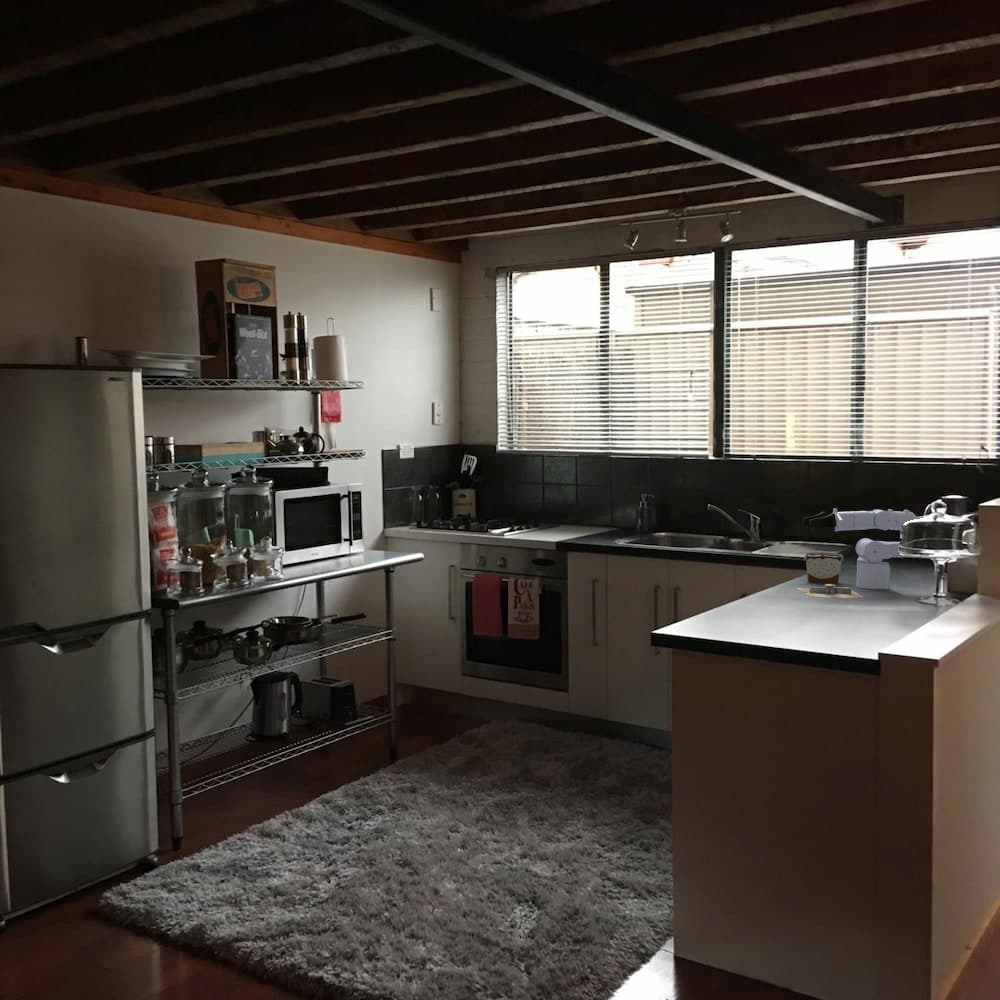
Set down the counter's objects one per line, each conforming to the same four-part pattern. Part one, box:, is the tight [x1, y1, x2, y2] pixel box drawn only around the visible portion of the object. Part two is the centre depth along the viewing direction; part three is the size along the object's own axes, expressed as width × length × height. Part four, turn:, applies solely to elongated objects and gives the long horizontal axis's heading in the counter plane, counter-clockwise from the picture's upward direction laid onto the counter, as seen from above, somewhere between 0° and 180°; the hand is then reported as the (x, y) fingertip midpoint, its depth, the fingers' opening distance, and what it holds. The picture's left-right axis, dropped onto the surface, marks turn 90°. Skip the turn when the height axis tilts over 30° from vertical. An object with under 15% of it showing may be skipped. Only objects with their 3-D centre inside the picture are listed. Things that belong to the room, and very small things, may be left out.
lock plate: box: [796, 583, 865, 599], centre depth 322 cm, size 16×16×3 cm
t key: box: [808, 585, 852, 594], centre depth 322 cm, size 12×4×2 cm, turn 87°
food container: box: [803, 551, 845, 584], centre depth 345 cm, size 12×6×10 cm, turn 84°
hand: (806, 522), depth 333 cm, fingers open, 7 cm apart
